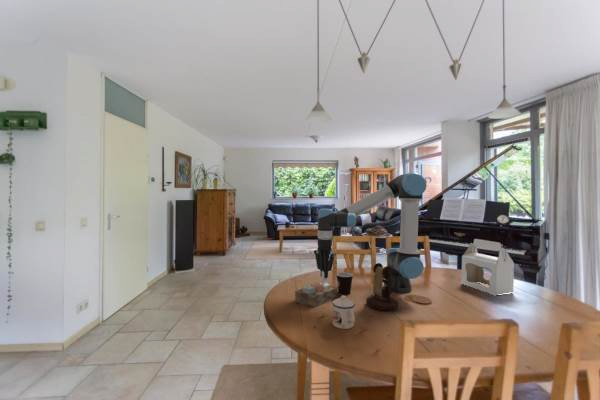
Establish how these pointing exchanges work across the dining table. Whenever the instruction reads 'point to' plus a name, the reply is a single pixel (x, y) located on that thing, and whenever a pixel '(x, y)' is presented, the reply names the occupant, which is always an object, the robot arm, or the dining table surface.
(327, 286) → the cream key
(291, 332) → the dining table surface
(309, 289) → the grey key
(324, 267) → the robot arm
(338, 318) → the teacup with lid
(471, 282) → the gable box
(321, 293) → the key box
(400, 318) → the dining table surface
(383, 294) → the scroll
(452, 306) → the dining table surface
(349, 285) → the coffee mug
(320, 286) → the terracotta key
